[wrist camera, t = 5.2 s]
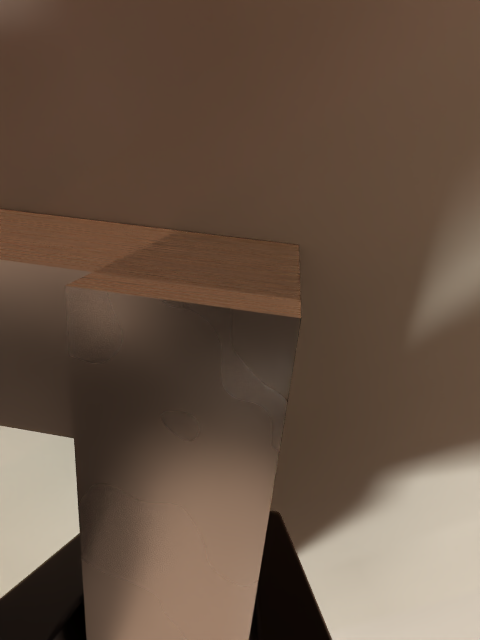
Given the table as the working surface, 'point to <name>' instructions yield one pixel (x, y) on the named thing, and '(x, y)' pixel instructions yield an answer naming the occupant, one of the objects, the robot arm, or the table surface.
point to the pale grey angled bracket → (154, 407)
